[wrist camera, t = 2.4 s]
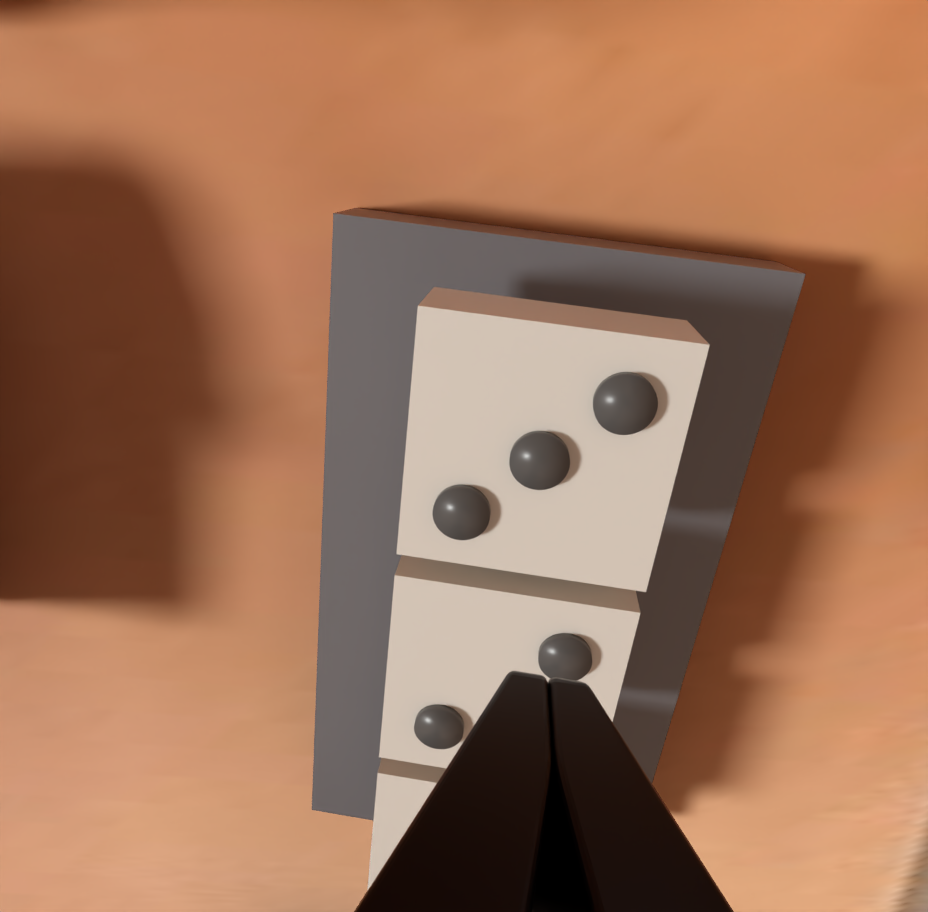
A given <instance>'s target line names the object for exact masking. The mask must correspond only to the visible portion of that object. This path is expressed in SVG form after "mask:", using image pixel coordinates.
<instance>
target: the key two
mask: <svg viewBox="0 0 928 912" xmlns="http://www.w3.org/2000/svg"><path fill="white" fill-rule="evenodd" d="M639 617H640V608H639V604H638V599H637V595H636V591H635V590H629V589H622V588H615V587H609V586H602V585H596V584H589V583H583V582H576V581H570V580H563V579H556V578H550V577H543V576H537V575H530V574H524V573H517V572H511V571H504V570H497V569H491V568H484V567H478V566H471V565H465V564H458V563H451V562H445V561H438V560H432V559H425V558H419V557H412V556H406V555H402V556H401V559H400V561H399V564H398V567H397V570H396V573H395V576H394V588H393V600H392V611H391V623H390V634H389V646H388V658H387V669H386V681H385V693H384V704H383V716H382V727H381V739H380V751H379V757H381V758H387V759H393V760H399V761H405V762H411V763H417V764H423V765H429V766H435V767H441V768H447V767H448V765H449V763H450V762H451V760H452V759H453V757H454V756H455V754H456V753H457V751H458V749H459V748H460V746H461V745H462V743H463V742H464V740H465V739H466V737H467V735H468V734H469V732H470V731H471V729H472V728H473V726H474V725H475V723H476V721H477V720H478V718H479V717H480V715H481V714H482V712H483V711H484V709H485V707H486V706H487V704H488V703H489V701H490V700H491V698H492V697H493V695H494V693H495V692H496V690H497V689H498V687H499V686H500V684H501V683H502V681H503V679H504V678H505V676H506V675H507V674H508V673H509V672H511V671H520V672H526V673H532V674H538V675H542V676H544V677H545V678H546V680H547V682H548V681H549V680H550V679H551V678H553V677H557V678H563V679H569V680H575V681H581V682H584V683H586V684H587V685H588V686H589V687H590V688H591V690H592V691H593V693H594V694H595V696H596V697H597V699H598V700H599V702H600V704H601V705H602V707H603V708H604V710H605V711H606V713H607V715H608V716H609V718H610V719H611V721H612V722H613V718H614V714H615V710H616V706H617V702H618V699H619V695H620V691H621V687H622V683H623V679H624V675H625V671H626V668H627V664H628V660H629V656H630V652H631V648H632V644H633V640H634V637H635V633H636V629H637V625H638V621H639Z"/></svg>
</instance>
